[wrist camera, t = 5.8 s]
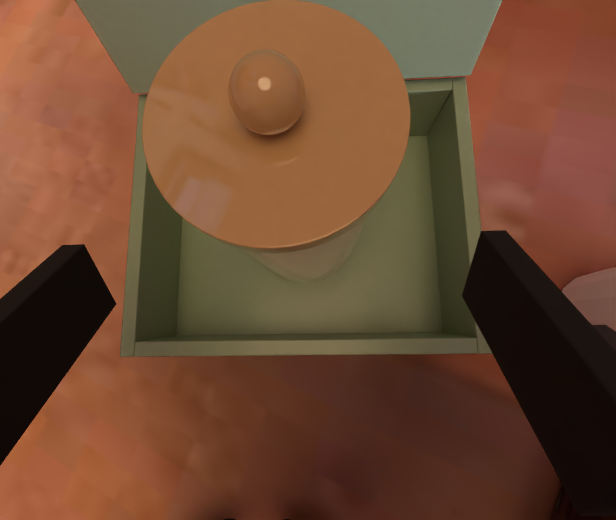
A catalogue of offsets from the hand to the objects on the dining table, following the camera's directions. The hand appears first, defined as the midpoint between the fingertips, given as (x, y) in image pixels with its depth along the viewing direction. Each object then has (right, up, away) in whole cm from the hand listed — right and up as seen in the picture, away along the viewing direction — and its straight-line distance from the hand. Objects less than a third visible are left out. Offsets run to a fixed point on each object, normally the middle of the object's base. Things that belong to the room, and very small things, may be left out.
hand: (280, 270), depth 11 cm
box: (+1, +2, +13) cm, 13 cm away
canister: (+1, +2, +12) cm, 12 cm away
